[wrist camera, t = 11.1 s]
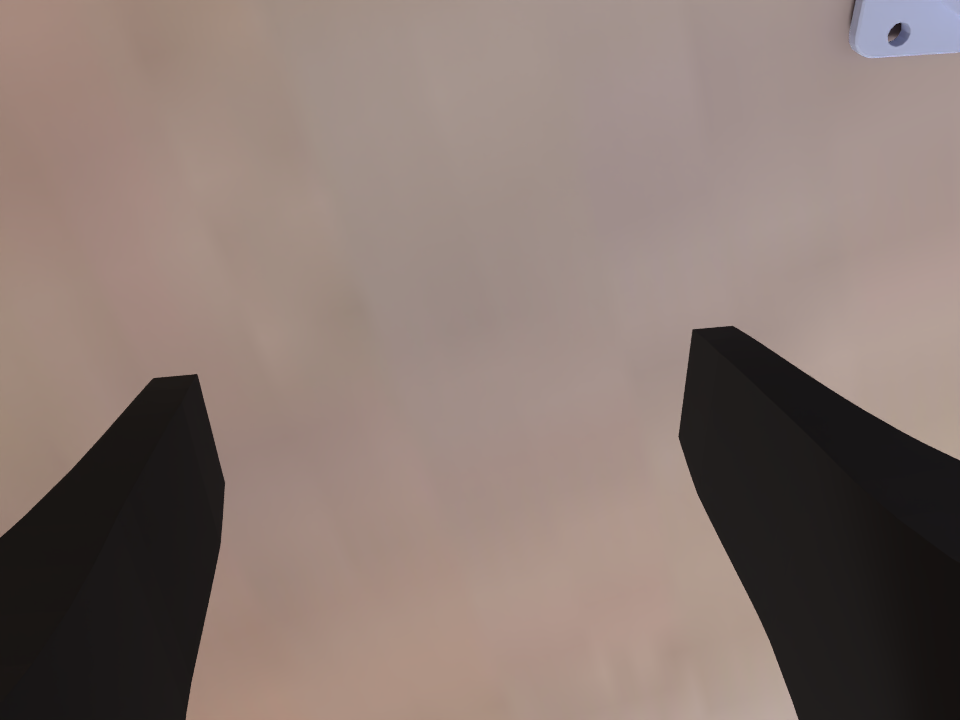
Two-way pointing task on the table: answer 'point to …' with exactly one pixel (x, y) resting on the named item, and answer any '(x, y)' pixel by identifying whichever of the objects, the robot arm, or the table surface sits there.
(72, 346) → the table surface
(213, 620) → the table surface
